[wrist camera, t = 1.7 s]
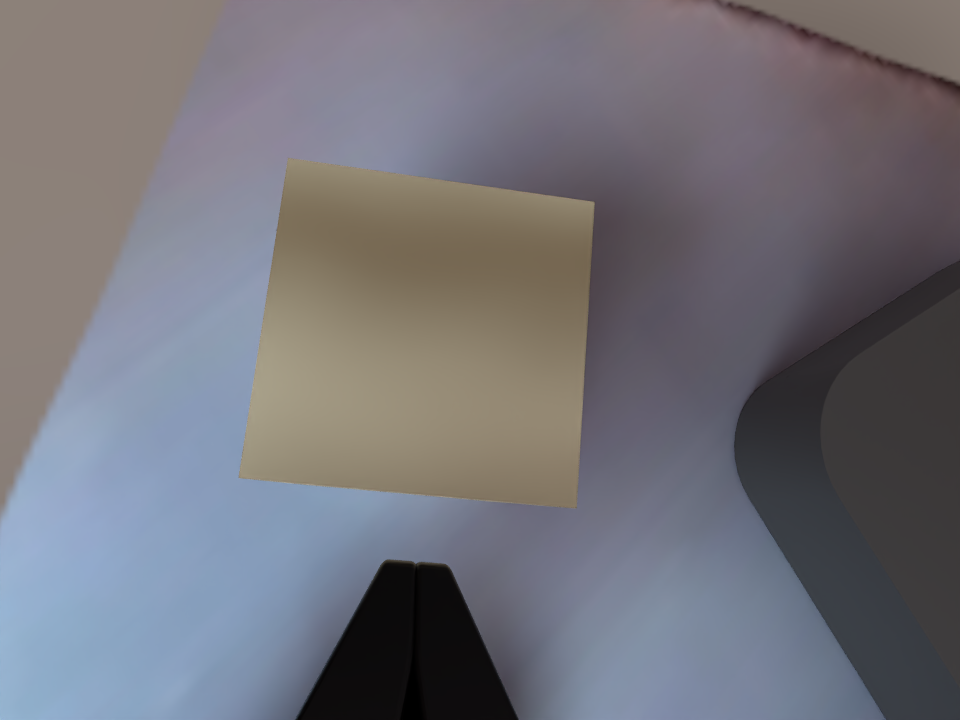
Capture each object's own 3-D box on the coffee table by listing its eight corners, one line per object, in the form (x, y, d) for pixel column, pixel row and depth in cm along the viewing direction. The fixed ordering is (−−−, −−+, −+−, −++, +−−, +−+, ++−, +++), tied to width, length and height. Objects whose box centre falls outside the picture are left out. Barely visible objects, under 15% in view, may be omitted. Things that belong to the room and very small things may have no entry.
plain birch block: (492, 501, 22) (576, 508, 13) (302, 484, 22) (238, 478, 12) (507, 321, 24) (594, 202, 14) (327, 300, 23) (287, 158, 13)
